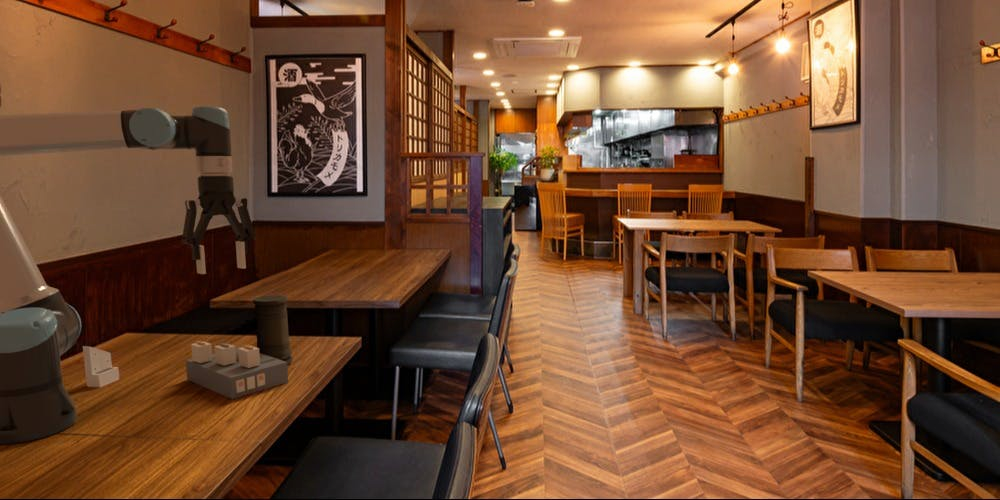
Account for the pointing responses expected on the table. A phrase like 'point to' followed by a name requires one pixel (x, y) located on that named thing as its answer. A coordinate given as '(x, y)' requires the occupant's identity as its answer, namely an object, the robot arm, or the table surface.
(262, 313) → the container
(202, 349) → the knob far
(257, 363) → the knob near
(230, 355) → the knob mid
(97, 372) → the white wedge bracket
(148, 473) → the table surface
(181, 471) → the table surface
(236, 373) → the switch unit
